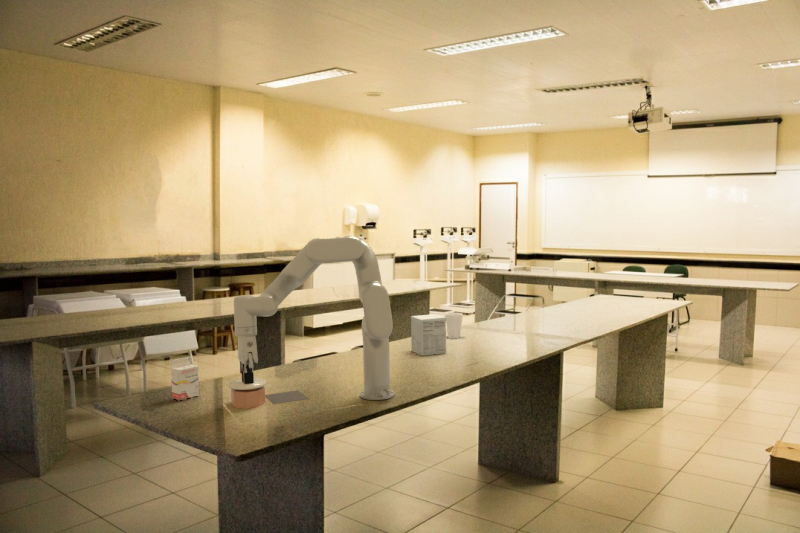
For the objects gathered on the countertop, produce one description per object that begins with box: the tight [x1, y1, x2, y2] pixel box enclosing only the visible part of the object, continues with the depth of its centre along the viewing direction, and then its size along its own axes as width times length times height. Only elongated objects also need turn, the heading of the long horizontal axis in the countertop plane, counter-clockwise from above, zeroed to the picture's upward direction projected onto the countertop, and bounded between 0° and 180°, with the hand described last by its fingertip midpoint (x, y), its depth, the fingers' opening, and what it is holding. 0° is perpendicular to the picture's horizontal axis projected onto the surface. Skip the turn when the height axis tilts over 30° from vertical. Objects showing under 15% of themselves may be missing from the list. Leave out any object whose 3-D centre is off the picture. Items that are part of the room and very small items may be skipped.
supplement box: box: [410, 313, 447, 356], centre depth 301 cm, size 13×13×18 cm
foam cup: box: [444, 312, 463, 340], centre depth 339 cm, size 10×9×13 cm
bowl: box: [230, 386, 266, 409], centre depth 219 cm, size 11×11×6 cm
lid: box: [228, 370, 268, 390], centre depth 218 cm, size 13×13×5 cm
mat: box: [265, 390, 310, 405], centre depth 226 cm, size 13×13×1 cm
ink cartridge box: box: [170, 356, 200, 399], centre depth 229 cm, size 9×5×15 cm, turn 141°
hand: (247, 382), depth 218 cm, fingers closed on lid, 2 cm apart
